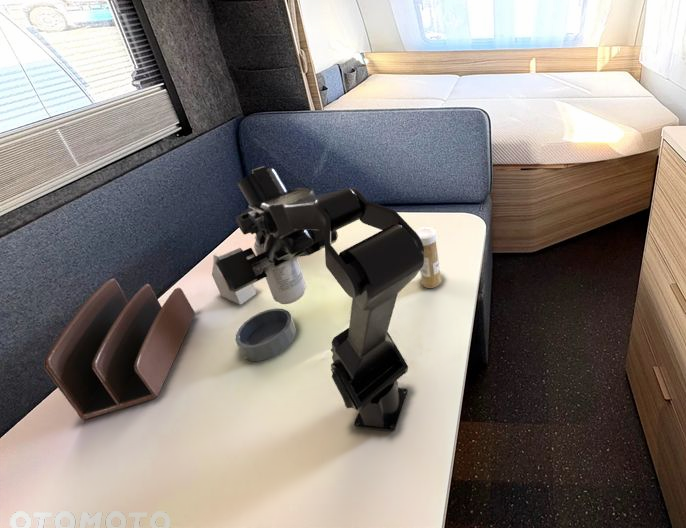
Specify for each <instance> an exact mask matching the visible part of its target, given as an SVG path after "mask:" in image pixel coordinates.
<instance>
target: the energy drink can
mask: <svg viewBox="0 0 686 528" xmlns="http://www.w3.org/2000/svg"><path fill="white" fill-rule="evenodd" d="M256 237H257V235H256V234H255V235H254V240H255V241H254V243H253V248H254V251H255V255H256V256H257V255H259V254H261V253H264V251H263V244H262V245H259V244H258V242H257V240H256ZM268 260H269V259H268ZM265 261H266V262H267V260H265ZM262 262H264V261H262ZM262 262H260V263H261V264H262ZM264 263H265V262H264ZM263 269H264V271H265V273H266V275H267V277H265V278H264V279H265V280H266V283H267V285H268V288H269V291H270V293H271V296H272V298H273V300H274V301H275V302H276V303H279V304H280V305H290V304H293V303H296V302H297V301H299V300H300V299H301V298H302V297H303V296H304V295H305V292H306V290H307V284H306V281H305V278H304V275H303V271H302V268H301V265H300V263H299V259H298V257H296V258H294V259H292V260H290V261H288V262H286V263H284V264H282V265H280V266H278V267H275V265H274V264H271V265H269V266H267V267H265V268H263Z"/></svg>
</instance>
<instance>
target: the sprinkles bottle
mask: <svg viewBox="0 0 686 528" xmlns="http://www.w3.org/2000/svg"><path fill="white" fill-rule="evenodd" d="M415 232H416V233H417V235H418V236H419V237H420V239H421V241H422V243H423V247H424V264H423V267H422V268H421V270H420V271H419V273H420V276H421V285H422V286H423V287H425V288H428V289H432V288H436V287H438V286H439V285H440V284H441V283H442V279H443V278H442V275H441V266H440V258H439V252H438V247H437V232H436V230H435V229H434V228H433V227H429V226H424V227H423V226H422V227H420V228H418V229H416V231H415Z"/></svg>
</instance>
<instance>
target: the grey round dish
mask: <svg viewBox="0 0 686 528" xmlns="http://www.w3.org/2000/svg"><path fill="white" fill-rule="evenodd" d="M296 333H297V329H296V325H295V322H294V319H293V317H292V314H291V313H290V311H289V310H288V309H284V308H278V307H277V308H276V307H275V308H270V309H266V310H263V311H261V312H258V313H256V314H255V315H253V316H251V317H249V318H248V319H247V320H246V321H244V322H243V323H242V324H241V325H240V327H239V328H238V330H237V331H236V334H235V339H234V340H235V343H236V345H237V347H238V349H239V351H240V354H241V355H242V357H243V358H244V359H245V360H247V361H250V362H261V361H265V360H268V359H271V358H273V357H275V356H278V354H280V353H282V352H283V351H285V350H286V349H287V347H288V348H289V346H290V345H291V344H292V343H293V341H294V339H295V338H296Z"/></svg>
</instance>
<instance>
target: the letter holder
mask: <svg viewBox="0 0 686 528" xmlns="http://www.w3.org/2000/svg"><path fill="white" fill-rule="evenodd" d="M195 315H196V312H195V310H194V309H193V307H192V305H191V303H190V301H189V300H188V298H187V296H186V294H185V292H184V290H183V289H182V288H181V287H176V288H175V289H173V291H172V292H171V294H169V296H168V297H167V299H166V301H165V302H164V303H163V305H161V302H159V299H158V297H157V296H156V294H155V292H154V290H153V288H152V286H151V284H148V283H146V284H144V285H142V286H141V287H140V288H139V289H138V291H136V293H135V294H134V295H133V296H132V297H131V299H130V300H129V301H128V300H127V298H126V296H125V294H124V292H123V290H122V288H121V286H120V285H119V283H118V281H117V279H115V278H110V279H108V280H106V281H105V282H104V283H103V284H102V285H101V286H99V287H98V289H97V290H95V291H94V292H93V293H92V294H91V295H90V296H89V298H88V299H87V300H86V301H85V302H84V303H83V304H82V305H81V307H80V308H79V309H78V311H77V312H76V313H75V314H74V315H73V317H72V318H71V320H70V321H69V322H68V323H67V325H66V326H65V327H64V329H63V330H62V332H61V333H60V334H59V336H58V337H57V339H56V340H55V341H54V343H53V345H52V346H51V348H50V349H49V351H48V353H47V354H46V356H45V358H44V360H43V367H44V368H43V369H44V370H45V372H46V374H48V376H49V377H50V379H51V380H52V382H53V383H54V384H55V386H56V387H57V388H58V390H59V391H60V392H61V393H62V395H63V396H64V397H65V399H66V400H67V401H68V403H69V404H70V405H71V407H72V409H74V411H75V412H76V413H77V415H78V417H79V418H80V419H81V420H83V421H87V420H89V419H91V418H95V417H98V416H101V415H105V414H108V413H111V412H115V411H118V410H121V409H125V408H128V407H129V408H130V407H132V406H135V405H137V404H141V403H144V402H148V401H151V400H152V401H153V400H155V399H157V398H158V396H159V393H160V391H161V390H162V387H163V385H164V383H165V381H166V379H167V377H168V374H169V372H170V370H171V368H172V366H173V363H174V361H175V359H176V357H177V355H178V353H179V350H180V348H181V346H182V344H183V342H184V340H185V337H186V335H187V333H188V331H189V328H190V326H191V324H192V322H193V320H194V317H195Z"/></svg>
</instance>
